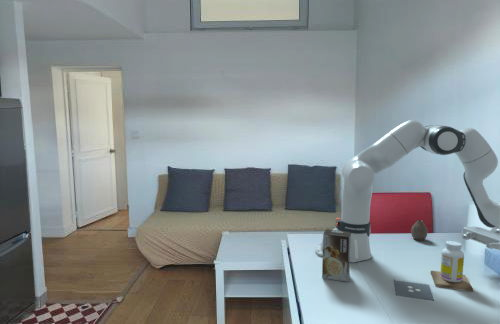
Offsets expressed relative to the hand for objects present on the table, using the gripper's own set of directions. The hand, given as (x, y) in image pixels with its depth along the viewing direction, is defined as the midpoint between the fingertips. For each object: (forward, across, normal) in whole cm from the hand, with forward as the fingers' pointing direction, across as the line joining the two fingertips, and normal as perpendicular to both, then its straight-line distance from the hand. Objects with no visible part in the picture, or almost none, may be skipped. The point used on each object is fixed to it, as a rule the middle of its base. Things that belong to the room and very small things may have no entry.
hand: (475, 241), depth 130 cm
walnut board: (+11, +1, +13) cm, 17 cm away
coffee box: (+47, -15, +14) cm, 51 cm away
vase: (-12, -38, +13) cm, 42 cm away
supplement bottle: (+11, +1, +12) cm, 17 cm away
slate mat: (+28, +2, +13) cm, 31 cm away
